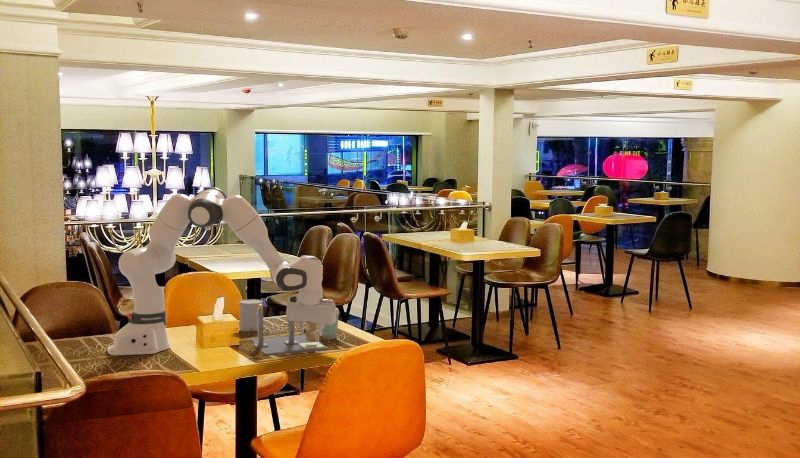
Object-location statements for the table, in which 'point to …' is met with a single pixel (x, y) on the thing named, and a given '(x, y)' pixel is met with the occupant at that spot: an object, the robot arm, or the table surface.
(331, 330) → the coffee cup
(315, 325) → the block
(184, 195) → the robot arm
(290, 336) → the gate
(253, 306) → the grey canister
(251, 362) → the table surface
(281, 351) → the mat
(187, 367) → the table surface
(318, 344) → the pad
